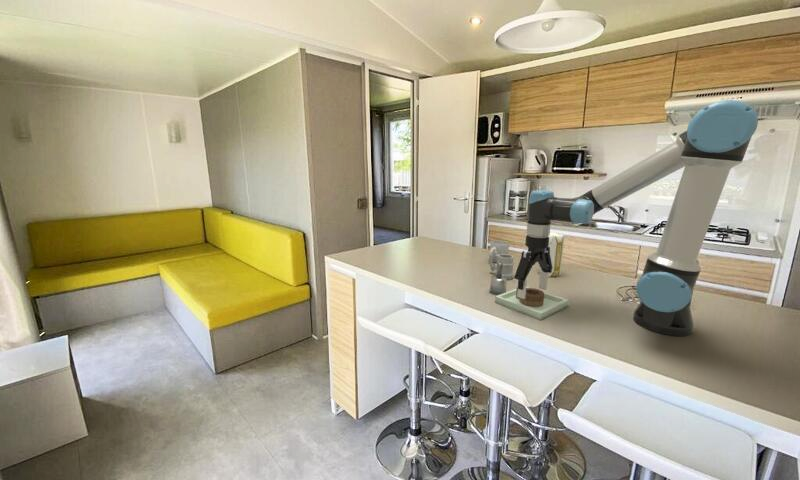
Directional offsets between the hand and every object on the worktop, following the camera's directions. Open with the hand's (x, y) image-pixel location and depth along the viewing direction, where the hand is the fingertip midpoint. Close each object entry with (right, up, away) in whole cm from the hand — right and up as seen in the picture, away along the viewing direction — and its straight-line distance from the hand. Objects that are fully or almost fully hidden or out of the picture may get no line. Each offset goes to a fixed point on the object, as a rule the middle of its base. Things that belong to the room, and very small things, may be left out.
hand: (532, 293), depth 122 cm
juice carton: (+21, +3, +34) cm, 40 cm away
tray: (0, -4, +1) cm, 4 cm away
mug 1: (+2, +8, +53) cm, 53 cm away
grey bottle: (-9, -2, +12) cm, 15 cm away
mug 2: (-2, +3, +31) cm, 31 cm away
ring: (0, -3, +1) cm, 4 cm away
